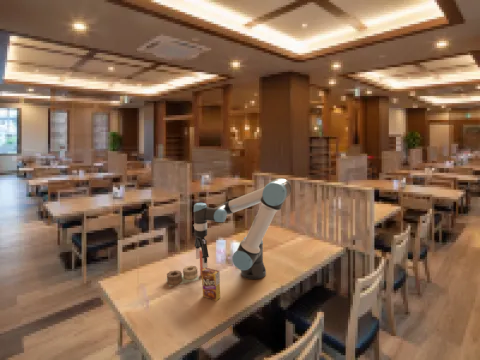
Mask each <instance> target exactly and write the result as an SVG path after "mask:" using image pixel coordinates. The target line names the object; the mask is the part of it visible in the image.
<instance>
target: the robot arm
mask: <svg viewBox="0 0 480 360" xmlns="http://www.w3.org/2000/svg"><path fill="white" fill-rule="evenodd" d="M291 193H292V185H291V183H290V182H289V181H288V180H287V179H285V178H284V177H283V178H281V177H279V178H275V179H274V180H272V181H270V182H268V183H267V184H266V185H265V186H264V187H262V188H258V189H256V190H254V191H252V192H249V193H246V194H244V195H241V196H238V197H236V198H233V199H231V200H229V201H226V202H223V203H221V204H219V205H218V206H215V207H208V205H207V203H205V202H196V203H195V204H194V205H193V220H194V221H193V223H194V224H192V226H193V227H194V230H193V231H194V237H195V240H194V247H195V259H196V260H198V259H199V260H200V252H199V251H200V250H202V254H203V257H202V260H203V268H209V267H208V258H210V255H209V251H208V244H207V243H208V242H207V241H208V240H207V239H205V237H206V236H207V235H208V221H209V222H215V223H224V222H225V221H226V219H227V216H229V215H231V214H234V213H236V212H239V211H242V210H244V209H248V208H250V207H253V206H255V205H258V204H260V203H261V204H260V207H259V209H258V211H257V213H256V215H255V217H254V219H253V222H252V224H251V227H250V228H249V230H248V232H247V234H246V236H244V238H243V240H241V241H240V243H239V245H238V247H237V250H236V251H234V252H233V254H232V264H233V265H234V267H235V268H237V269H238V270H240V274H241V276H242V277H243V278H245V279H248V280H259V279H262V278H264V277H265V276H266V274H267V272H266V271H267V270H266V266H265V263H264V250H263V249H264V247H263V246H264V241H263V239H264V237H265V236H266V233H267V231H268V229H269V227H270V225H271V223H272V221H273V219H274V217H275V214H276V213H277V212H278V211H280V210H281V209H282V207H283V205H284V203H285V201H286V199H287V198H288V197H289V196H290V195H291Z"/></svg>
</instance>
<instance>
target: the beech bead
mask: <svg viewBox="0 0 480 360" xmlns="http://www.w3.org/2000/svg"><path fill="white" fill-rule="evenodd" d="M198 273H199V271H198V267H197V266H195V265H188V266H185V267H184V268H182V275H183V277H184V279H186V280H192V279H195V278H196V277H199V276H198Z"/></svg>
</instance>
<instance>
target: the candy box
mask: <svg viewBox="0 0 480 360" xmlns="http://www.w3.org/2000/svg"><path fill="white" fill-rule="evenodd" d="M220 278H221V277H220V270H217V269H213V268H210V267H207V268H204V269H203V270H202V276H201V283H202V284H201V285H202V286H201V287H202V288H201V289H202V297H203V298H207V299H210V300H212V301H214V302H215V301H216V302H217V301H218V300H220V298H221V279H220Z"/></svg>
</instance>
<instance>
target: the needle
mask: <svg viewBox="0 0 480 360" xmlns="http://www.w3.org/2000/svg"><path fill="white" fill-rule="evenodd" d="M199 252H200V258H199V270H200V277H202V270H203V269H204V268H203V260H202V257H203V254H202V250H201V249H200V251H199Z"/></svg>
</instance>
